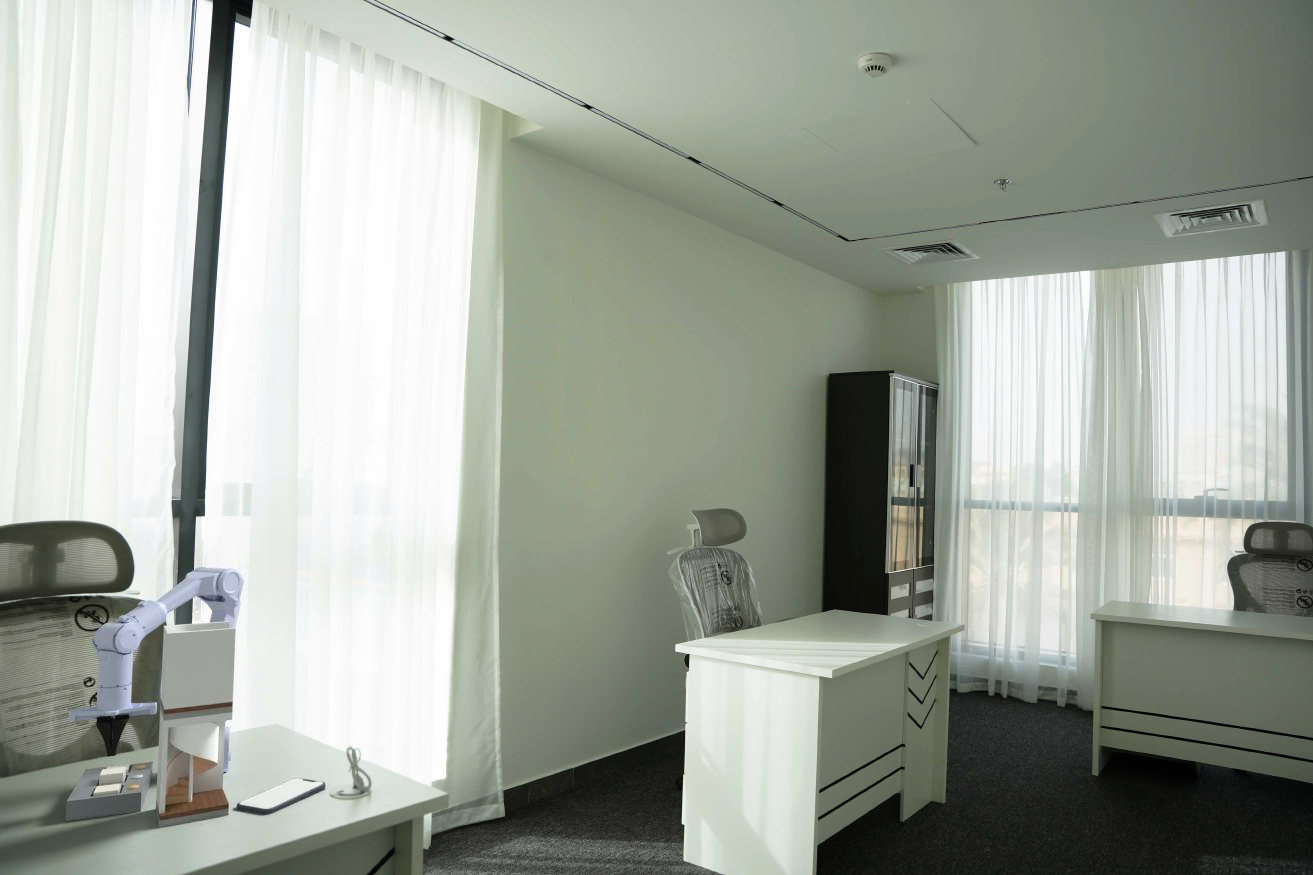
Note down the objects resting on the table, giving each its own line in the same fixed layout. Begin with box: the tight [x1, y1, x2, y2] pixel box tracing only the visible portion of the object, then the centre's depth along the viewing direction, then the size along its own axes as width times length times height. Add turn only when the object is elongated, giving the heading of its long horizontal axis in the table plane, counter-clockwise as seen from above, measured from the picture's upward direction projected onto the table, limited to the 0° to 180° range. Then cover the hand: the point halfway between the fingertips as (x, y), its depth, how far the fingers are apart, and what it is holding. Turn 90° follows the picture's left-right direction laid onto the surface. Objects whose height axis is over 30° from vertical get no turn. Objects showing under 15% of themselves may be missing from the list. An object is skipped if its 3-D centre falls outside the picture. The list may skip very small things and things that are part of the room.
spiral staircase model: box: [155, 621, 237, 828], centre depth 164 cm, size 11×11×35 cm
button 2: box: [106, 763, 131, 773], centre depth 176 cm, size 4×4×3 cm
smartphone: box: [236, 777, 326, 816], centre depth 171 cm, size 9×2×16 cm
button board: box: [65, 761, 153, 822], centre depth 170 cm, size 12×20×4 cm, turn 25°
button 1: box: [93, 784, 121, 796], centre depth 164 cm, size 4×4×3 cm
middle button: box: [99, 767, 126, 785], centre depth 170 cm, size 4×4×3 cm
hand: (111, 754), depth 167 cm, fingers closed
